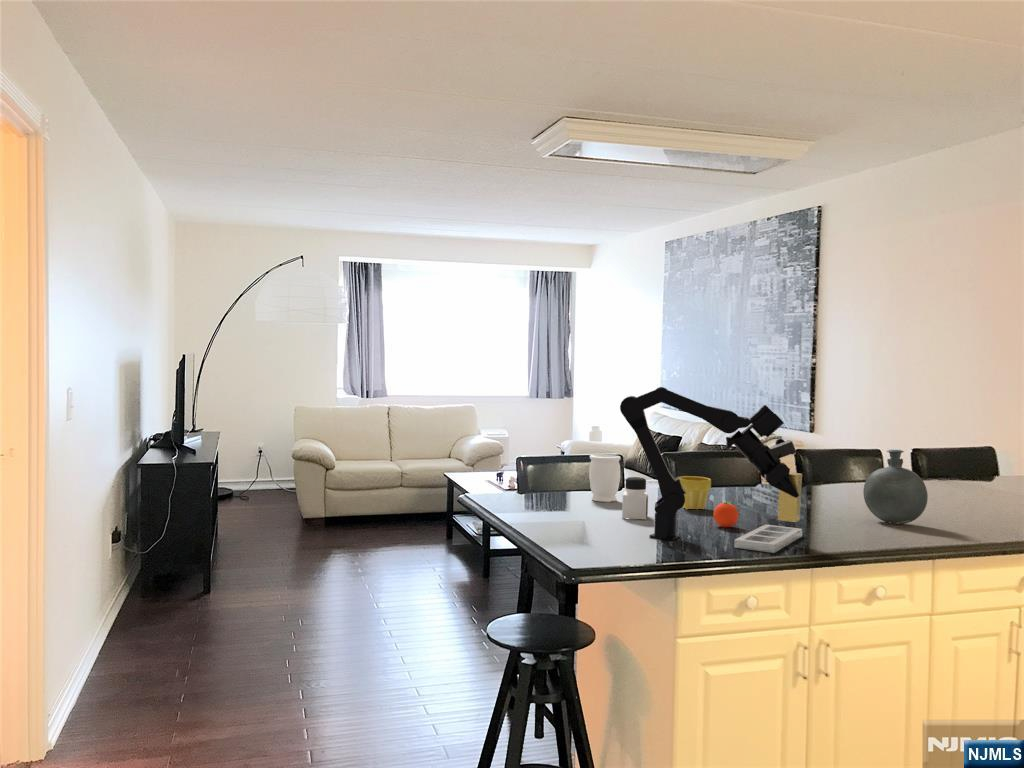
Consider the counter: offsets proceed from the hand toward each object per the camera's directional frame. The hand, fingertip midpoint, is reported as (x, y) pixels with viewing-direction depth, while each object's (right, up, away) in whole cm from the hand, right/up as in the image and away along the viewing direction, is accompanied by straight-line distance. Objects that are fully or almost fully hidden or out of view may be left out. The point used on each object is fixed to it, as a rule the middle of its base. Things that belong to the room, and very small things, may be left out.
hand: (795, 494), depth 219 cm
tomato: (-12, -12, +22) cm, 28 cm away
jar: (-42, -11, +66) cm, 79 cm away
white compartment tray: (-6, -13, +3) cm, 14 cm away
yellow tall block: (-2, -7, 0) cm, 7 cm away
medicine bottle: (-36, -12, +35) cm, 52 cm away
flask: (+40, -13, +33) cm, 53 cm away
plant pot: (-15, -12, +53) cm, 56 cm away
